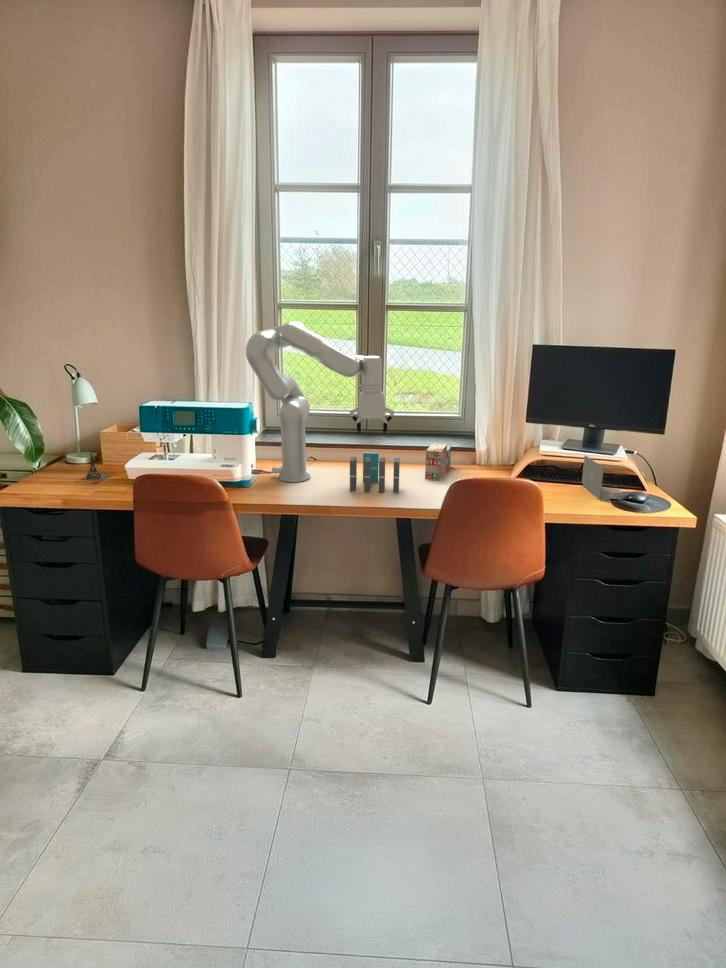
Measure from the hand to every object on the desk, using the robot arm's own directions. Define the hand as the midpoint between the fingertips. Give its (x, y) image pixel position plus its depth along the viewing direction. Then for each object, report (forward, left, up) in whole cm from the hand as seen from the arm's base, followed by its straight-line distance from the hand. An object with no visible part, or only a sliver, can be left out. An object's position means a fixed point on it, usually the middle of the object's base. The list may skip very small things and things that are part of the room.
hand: (372, 432), depth 257 cm
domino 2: (-1, -10, -20) cm, 22 cm away
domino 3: (+5, -10, -20) cm, 23 cm away
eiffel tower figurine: (-111, -6, -21) cm, 113 cm away
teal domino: (0, 0, -20) cm, 20 cm away
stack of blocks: (+27, +16, -20) cm, 37 cm away
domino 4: (+10, -10, -20) cm, 25 cm away
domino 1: (-6, -10, -20) cm, 23 cm away
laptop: (+90, -5, -21) cm, 92 cm away
